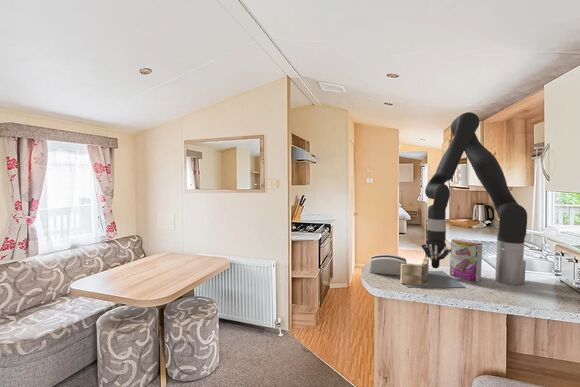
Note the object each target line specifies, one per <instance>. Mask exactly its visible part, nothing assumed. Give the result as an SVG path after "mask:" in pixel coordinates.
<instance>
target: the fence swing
mask: <svg viewBox="0 0 580 387" xmlns="http://www.w3.org/2000/svg"><path fill="white" fill-rule="evenodd" d="M429 259H430V257H428V256H427V255H425V256H424V257H423V260H422V263H421V265H422V264H425V265H427V277H428V271H430V268H429V266H430V265H429V264H430V262H429Z"/></svg>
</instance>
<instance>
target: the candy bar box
mask: <svg viewBox="0 0 580 387" xmlns="http://www.w3.org/2000/svg"><path fill="white" fill-rule="evenodd" d="M450 250H451V252H450V268H449V276H451V277H457V278H459V279H464V280H467V281H470V282H474V283H477V282H480V281H481V279H482V262H483V258H482V257H483V242H479V241H474V240H473V241H472V240H468V239H464V238H458V237H457V238H452V239H451V240H450Z"/></svg>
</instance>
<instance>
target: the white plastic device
mask: <svg viewBox="0 0 580 387" xmlns="http://www.w3.org/2000/svg"><path fill="white" fill-rule="evenodd" d="M401 264H408V263H407V259H406V258H405V257H403V256H400V255H396V254H389V253H383V254H376V255H372V256H371V257H370V264H369V265H370V267H369V273H370V274H380V275H381V274H382V275H392V276H393V275H394V276H397V275H401Z"/></svg>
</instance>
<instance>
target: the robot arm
mask: <svg viewBox="0 0 580 387" xmlns="http://www.w3.org/2000/svg"><path fill="white" fill-rule="evenodd" d="M479 127H480V117H479V116H478V114H476V113H474V112H471V111H468V112H464V113H462V114H460V115H458V116H457V117H456V118H455V119H454V120H453V121H452V123H451V125H450V131H451V133H452V134H453V137H452V140H451V142H450V144H449V145H448V148H447V149H446V150H445V152H444V154H443V156H442V157H441V160H440V161H439V163H438V166H437V169H436V172H435V173H434V174H433V175H432V176H431V178H430V180H429V181H428V182H427V184H426V186H425V190H424V194H425V197H427V198H428V199H430V200H433V204H431V205H429V206H428V208H427V221H426V241H425V243H424V244H421V249H423V251H424V253H425V256H428V257H429V259H431V266H432V268H433V269H438V268H439V267H440V260H444V259H445V258H446V257H447V256H448V255H449V254H451V248H448V247H447V244H446V237H447V236H446V235H447V232H446V231H447V221H446V212H447V211H446V210H447V207H448V204H449V200H450V197H451V196H450V195H451V191H450V188H449V186H448V185H447V184H445V183H446V182H449V181H452V179H453V178H454V175H455V172H456V170H457V169H458V165H459V163H460V161H461V159H462V156H463V154H465V155H466V158H467V159H468V161H469V163H470V165H471V167H472V169H473V171H474V173H475V174H476V177H477V179H478V180H479V182H480V183H481V186H483V188H484V190H485V191H486V192H487V194H488V195H489V197H490V198H491V201H492V203H493V206H494V208H495V211H496V214H497V217H498V220H499V224H498V225H499V226H498V233H497V237H496V239H497V240H496V257H495V260H496V261H495V281H497V282H499V283H502V284H505V285H506V284H507V285H513V286H519V285H523V284H525V282H526V265H527V264H526V263H527V260H524V256H525V255H524V252H525V239H526V236H527V230H528V229H527V228H528V213H527V212H528V211H527V210H526V209H525V208H524V207H523V206H522V205H520V204H518V202H517V201H516V199H515V198H514V196H513V195H512V192H511V191H510V189H509V187H508V184H507V183H508V182H507V180H506V177H505V174H504V171H503V169H502V167H501V165H500V163H499V162H498V159H497V158H496V156H495V155H494V154H493V153H492V152H491V151H490V150H489V149H487V148H486V147H485V146H484V145H483V144H482V143H481V142H480V140H479V138H478V136H477V134H476V132H477V130H478V129H479Z"/></svg>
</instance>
